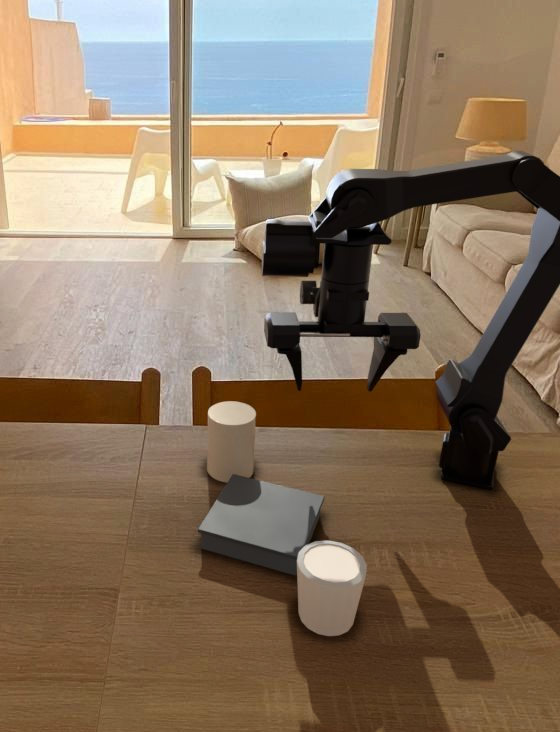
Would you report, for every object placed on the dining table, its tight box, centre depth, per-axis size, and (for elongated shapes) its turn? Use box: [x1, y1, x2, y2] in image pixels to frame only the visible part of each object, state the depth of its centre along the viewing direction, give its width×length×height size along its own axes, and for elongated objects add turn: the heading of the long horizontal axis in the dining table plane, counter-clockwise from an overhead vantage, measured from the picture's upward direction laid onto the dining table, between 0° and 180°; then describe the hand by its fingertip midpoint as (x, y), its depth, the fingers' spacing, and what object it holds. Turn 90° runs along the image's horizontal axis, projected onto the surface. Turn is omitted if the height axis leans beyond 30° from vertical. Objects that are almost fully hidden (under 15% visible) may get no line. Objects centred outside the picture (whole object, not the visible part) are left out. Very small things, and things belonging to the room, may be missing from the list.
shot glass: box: [296, 540, 368, 637], centre depth 70 cm, size 7×7×7 cm
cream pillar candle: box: [206, 400, 257, 484], centre depth 94 cm, size 6×6×9 cm
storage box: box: [197, 474, 326, 577], centre depth 83 cm, size 12×12×3 cm
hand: (334, 389), depth 91 cm, fingers open, 9 cm apart
